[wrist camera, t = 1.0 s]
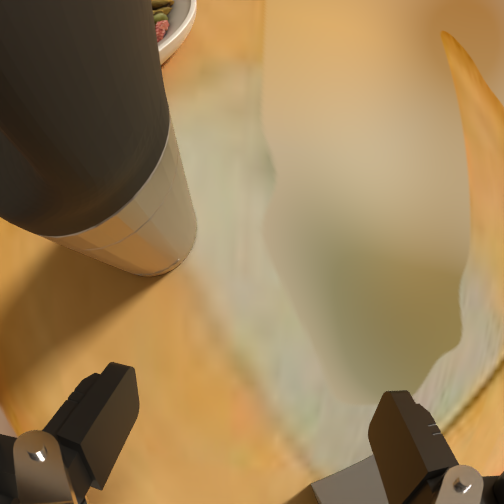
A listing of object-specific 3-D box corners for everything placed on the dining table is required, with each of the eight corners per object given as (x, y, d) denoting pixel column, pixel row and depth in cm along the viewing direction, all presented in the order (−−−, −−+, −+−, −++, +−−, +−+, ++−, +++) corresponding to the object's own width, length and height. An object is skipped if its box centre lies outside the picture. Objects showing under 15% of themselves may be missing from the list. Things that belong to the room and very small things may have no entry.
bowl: (23, 36, 32) (8, 10, 24) (175, -22, 36) (173, -54, 29) (6, 162, 28) (-27, 135, 20) (223, 76, 33) (226, 29, 25)
